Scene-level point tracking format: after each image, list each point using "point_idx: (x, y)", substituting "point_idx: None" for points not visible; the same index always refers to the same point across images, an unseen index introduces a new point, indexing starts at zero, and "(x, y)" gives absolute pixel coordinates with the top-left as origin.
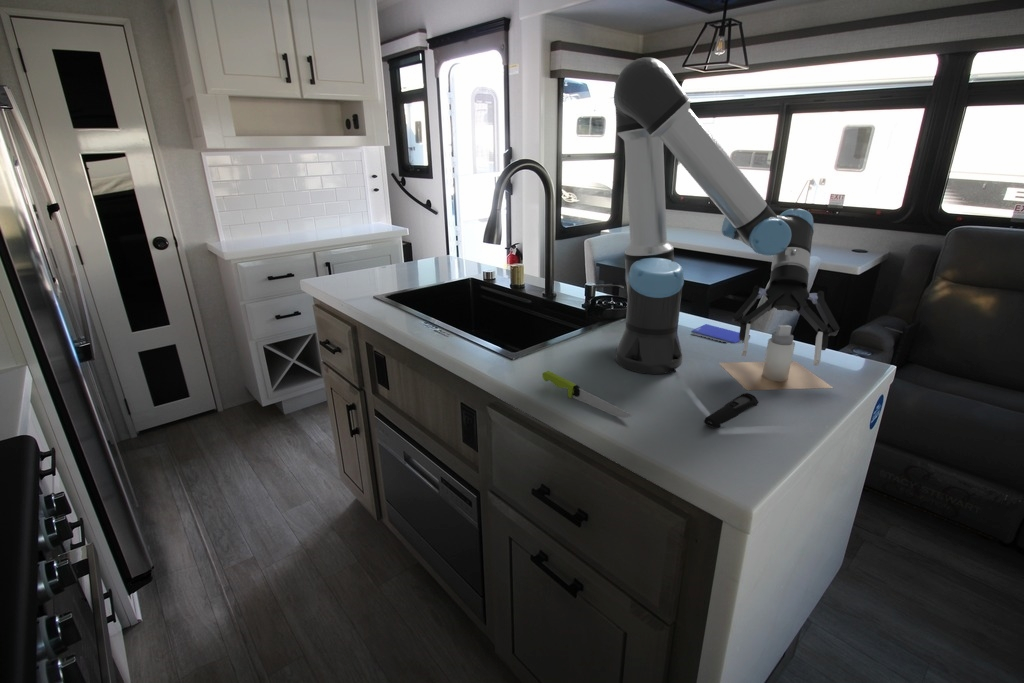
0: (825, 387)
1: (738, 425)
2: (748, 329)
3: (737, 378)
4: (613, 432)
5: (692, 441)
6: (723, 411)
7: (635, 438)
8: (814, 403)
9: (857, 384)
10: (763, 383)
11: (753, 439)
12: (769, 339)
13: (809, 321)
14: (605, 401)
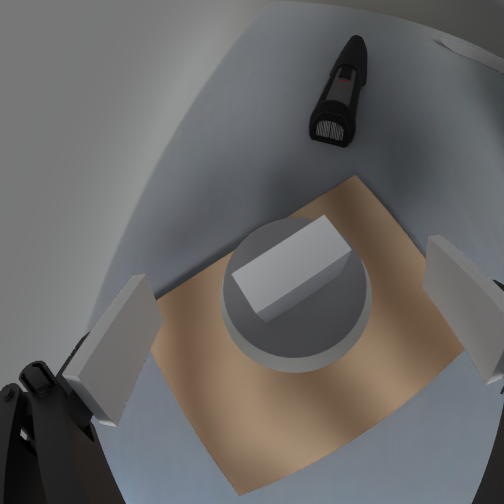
0: None
1: (322, 71)
2: (497, 295)
3: (400, 238)
4: (432, 31)
5: (357, 32)
6: (348, 50)
7: (408, 27)
8: (188, 220)
9: None
10: None
11: (290, 54)
12: (367, 303)
13: (116, 501)
14: (478, 49)
